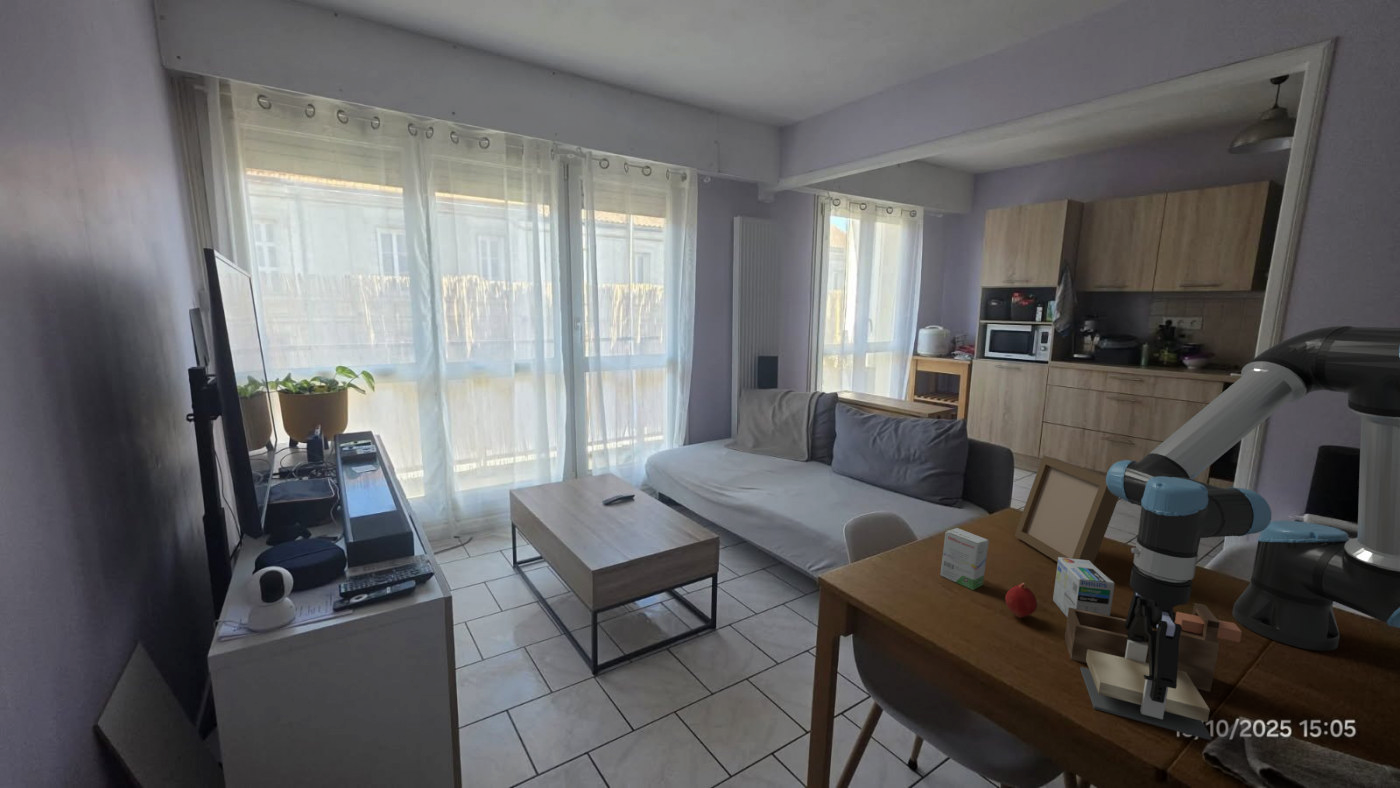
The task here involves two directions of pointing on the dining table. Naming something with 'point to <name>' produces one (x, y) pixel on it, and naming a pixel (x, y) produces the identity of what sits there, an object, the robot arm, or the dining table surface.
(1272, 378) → the robot arm
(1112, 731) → the dining table surface
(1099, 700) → the mat
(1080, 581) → the light bulb box
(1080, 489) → the photo frame
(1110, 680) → the lid
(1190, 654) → the wooden box
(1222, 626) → the orange rectangular block
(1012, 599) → the onion
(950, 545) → the ink box
